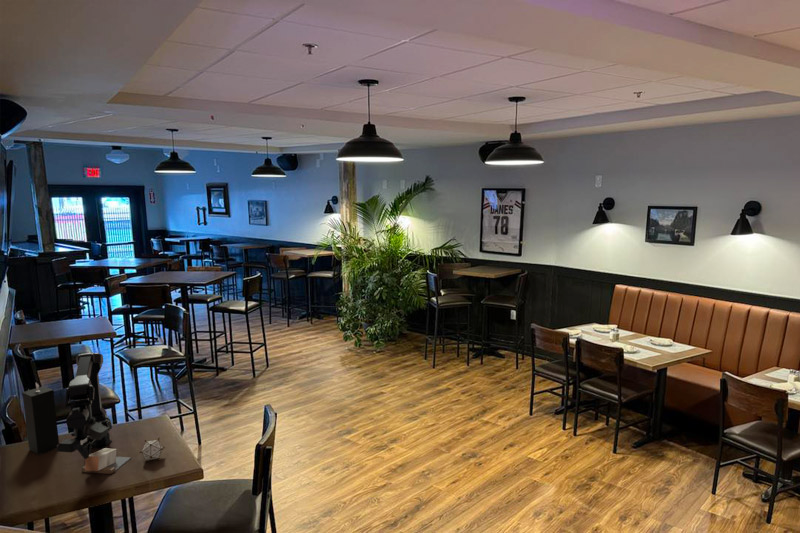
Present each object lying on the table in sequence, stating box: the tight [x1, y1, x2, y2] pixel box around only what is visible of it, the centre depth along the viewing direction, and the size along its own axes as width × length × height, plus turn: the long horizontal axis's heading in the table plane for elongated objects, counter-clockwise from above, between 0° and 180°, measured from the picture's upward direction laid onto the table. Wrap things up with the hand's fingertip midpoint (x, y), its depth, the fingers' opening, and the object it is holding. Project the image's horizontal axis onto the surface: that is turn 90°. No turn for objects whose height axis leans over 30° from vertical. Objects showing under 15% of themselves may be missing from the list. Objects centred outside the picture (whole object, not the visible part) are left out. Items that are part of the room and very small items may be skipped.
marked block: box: [84, 447, 118, 471], centre depth 189 cm, size 5×5×10 cm
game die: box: [139, 437, 166, 463], centre depth 195 cm, size 9×8×10 cm
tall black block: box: [21, 382, 60, 456], centre depth 202 cm, size 8×8×28 cm
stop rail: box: [81, 465, 116, 475], centre depth 187 cm, size 12×2×2 cm, turn 83°
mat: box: [107, 456, 132, 472], centre depth 193 cm, size 12×9×1 cm
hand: (86, 458), depth 181 cm, fingers closed
